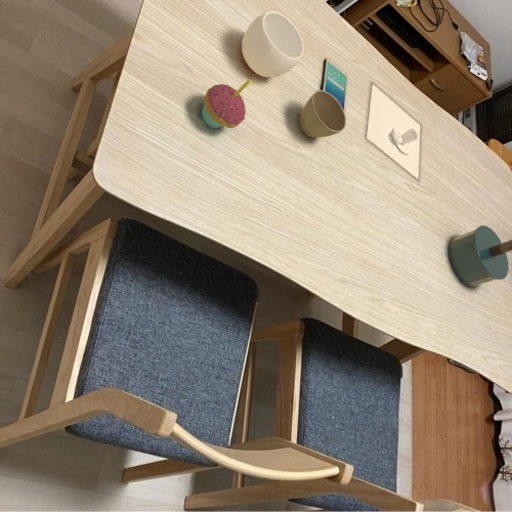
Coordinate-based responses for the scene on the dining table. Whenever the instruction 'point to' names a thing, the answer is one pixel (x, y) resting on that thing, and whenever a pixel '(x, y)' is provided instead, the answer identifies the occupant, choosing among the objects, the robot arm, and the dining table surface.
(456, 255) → the bowl
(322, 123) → the flower pot
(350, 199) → the dining table surface
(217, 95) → the cupcake
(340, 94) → the smartphone
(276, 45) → the cup
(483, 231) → the lid
